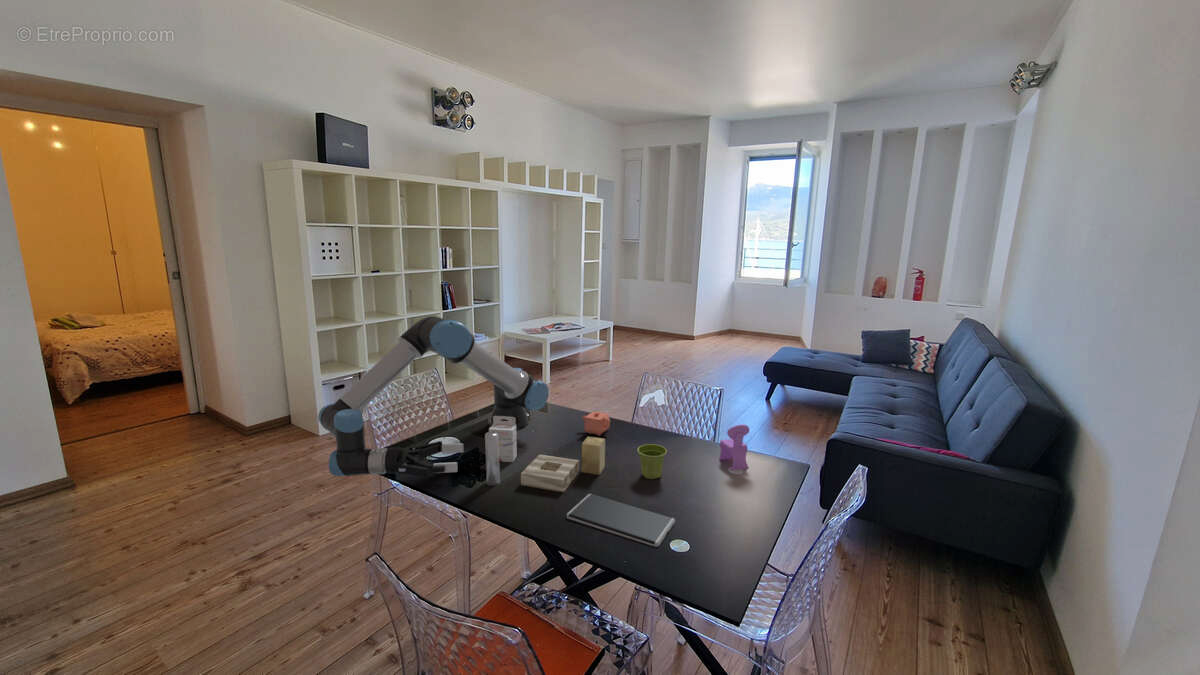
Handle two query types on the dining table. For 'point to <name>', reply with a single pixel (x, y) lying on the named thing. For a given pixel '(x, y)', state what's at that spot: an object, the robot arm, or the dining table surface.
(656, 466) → the plant pot
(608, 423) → the pink cube teapot
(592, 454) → the square bar
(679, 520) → the dining table surface
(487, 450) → the cylinder
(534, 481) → the socket block
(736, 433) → the toy chair
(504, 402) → the robot arm
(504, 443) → the ink cartridge box
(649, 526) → the smartphone
